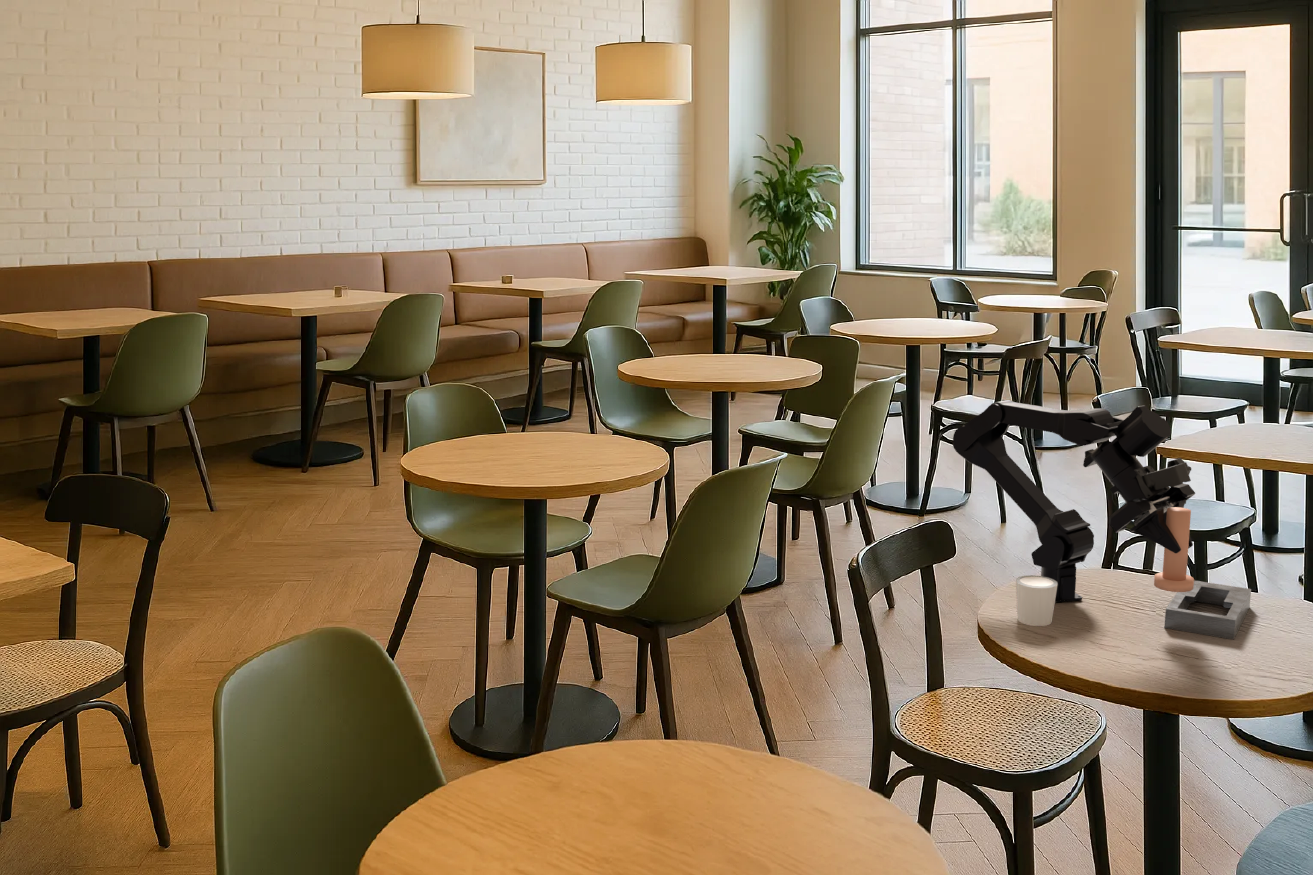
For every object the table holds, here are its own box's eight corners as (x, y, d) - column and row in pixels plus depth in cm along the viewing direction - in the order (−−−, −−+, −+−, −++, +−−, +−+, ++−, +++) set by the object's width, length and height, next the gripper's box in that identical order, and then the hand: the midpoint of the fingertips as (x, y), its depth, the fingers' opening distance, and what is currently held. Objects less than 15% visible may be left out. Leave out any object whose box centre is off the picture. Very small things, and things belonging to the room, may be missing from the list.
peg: (1146, 584, 204) (1151, 508, 201) (1170, 578, 207) (1175, 503, 204) (1177, 594, 199) (1182, 516, 196) (1201, 588, 202) (1207, 511, 199)
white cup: (1050, 613, 212) (1053, 574, 211) (1059, 627, 206) (1062, 587, 204) (1010, 612, 213) (1012, 574, 211) (1017, 626, 206) (1019, 587, 205)
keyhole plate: (1233, 639, 199) (1235, 620, 199) (1164, 627, 205) (1165, 608, 204) (1249, 607, 214) (1251, 589, 213) (1184, 596, 220) (1185, 579, 219)
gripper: (1130, 452, 195) (1194, 533, 189) (1187, 436, 207) (1248, 511, 201) (1083, 492, 203) (1142, 571, 197) (1140, 474, 215) (1197, 548, 209)
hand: (1184, 549), depth 201 cm, fingers closed on peg, 4 cm apart
